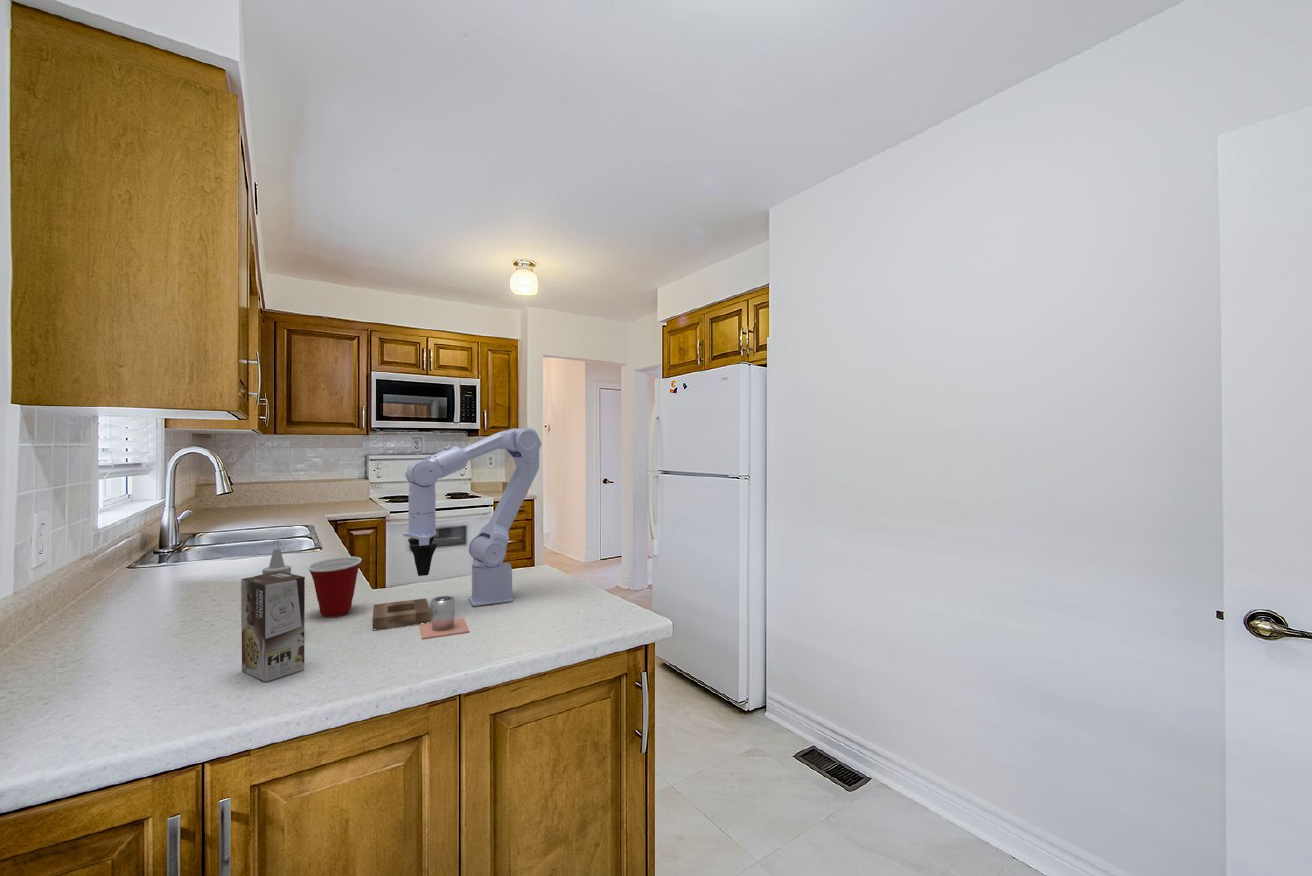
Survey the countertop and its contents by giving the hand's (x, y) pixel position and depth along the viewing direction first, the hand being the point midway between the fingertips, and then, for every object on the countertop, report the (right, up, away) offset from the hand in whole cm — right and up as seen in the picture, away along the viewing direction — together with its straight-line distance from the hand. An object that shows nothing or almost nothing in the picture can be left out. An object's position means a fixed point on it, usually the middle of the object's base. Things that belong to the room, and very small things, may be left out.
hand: (422, 571), depth 127 cm
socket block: (-3, -9, -5) cm, 11 cm away
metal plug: (+9, -9, -11) cm, 17 cm away
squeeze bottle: (-22, -10, -17) cm, 29 cm away
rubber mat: (+9, -9, -11) cm, 17 cm away
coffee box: (-12, -10, -32) cm, 35 cm away
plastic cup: (-20, -10, -1) cm, 22 cm away
